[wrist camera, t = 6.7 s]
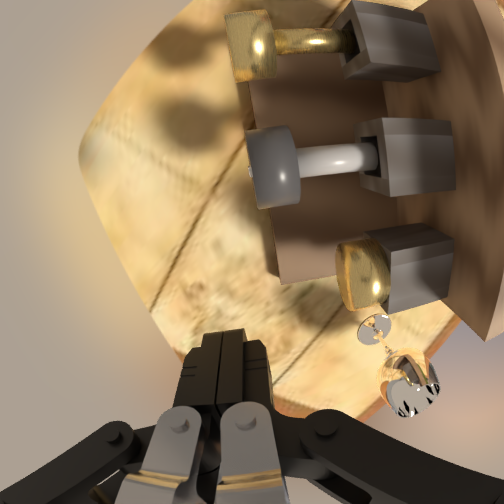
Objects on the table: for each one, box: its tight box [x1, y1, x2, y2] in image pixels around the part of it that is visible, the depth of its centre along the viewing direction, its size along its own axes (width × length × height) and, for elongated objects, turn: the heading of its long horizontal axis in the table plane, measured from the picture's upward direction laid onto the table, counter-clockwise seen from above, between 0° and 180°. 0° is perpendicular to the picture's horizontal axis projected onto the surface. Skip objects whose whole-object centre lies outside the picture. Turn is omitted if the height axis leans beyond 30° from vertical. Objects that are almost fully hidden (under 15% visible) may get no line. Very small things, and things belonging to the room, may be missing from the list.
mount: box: [248, 0, 504, 342], centre depth 16 cm, size 22×15×16 cm
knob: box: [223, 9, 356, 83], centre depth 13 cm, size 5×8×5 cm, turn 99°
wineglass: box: [358, 314, 441, 418], centre depth 24 cm, size 6×6×12 cm
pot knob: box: [245, 125, 378, 210], centre depth 16 cm, size 5×8×5 cm, turn 99°
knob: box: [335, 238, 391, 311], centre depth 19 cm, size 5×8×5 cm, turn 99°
